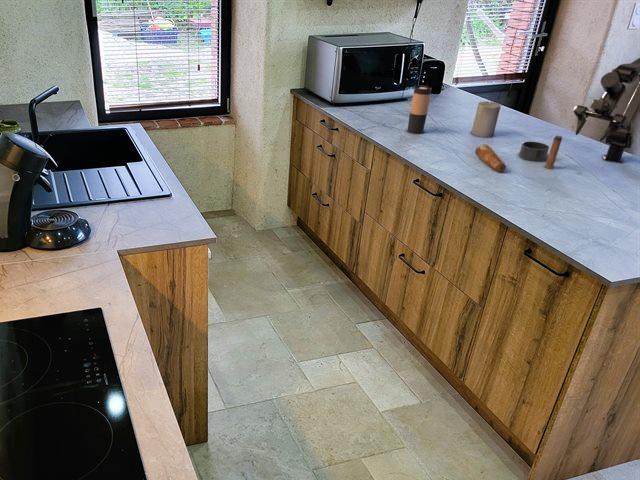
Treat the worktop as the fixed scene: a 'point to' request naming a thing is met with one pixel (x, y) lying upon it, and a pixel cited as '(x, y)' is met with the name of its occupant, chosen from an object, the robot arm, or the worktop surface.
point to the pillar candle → (486, 119)
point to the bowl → (534, 151)
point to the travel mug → (419, 109)
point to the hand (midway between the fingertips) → (588, 137)
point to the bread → (490, 157)
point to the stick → (553, 151)
